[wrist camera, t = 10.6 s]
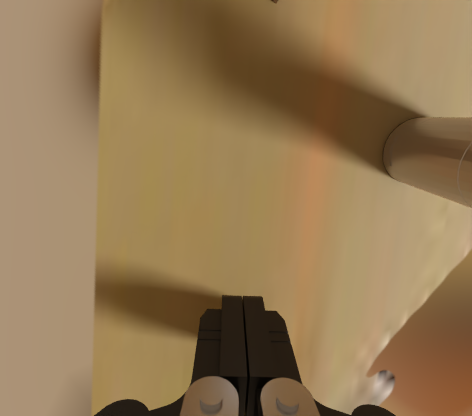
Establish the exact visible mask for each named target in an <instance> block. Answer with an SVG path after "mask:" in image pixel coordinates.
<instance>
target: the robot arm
mask: <svg viewBox="0 0 472 416" xmlns="http://www.w3.org/2000/svg"><path fill="white" fill-rule="evenodd" d="M383 161H384V165H385V168H386V170H387V172H388V173H389V174H390V175H391V176H392V177H393V178H394V179H396V180H398V181H400V182H403V183H405V184H408V185H411V186H414V187H416V188H419V189H421V190H424V191H427V192H429V193H432V194H435V195H438V196H440V197H443V198H446V199H449V200H451V201H454V202H457V203H459V204H462V205H465V206H468V207H470V208H472V118H442V117H433V118H414V119H411V120H408V121H406V122H404V123H402V124H401V125H399V126H398V127H397V128H396V129H395V130H394V131H393V132H392V133H391V135H390V136H389V138H388V139H387V141H386V144H385V147H384V151H383ZM94 416H395V415H394V414H393V413H391V412H389V411H388V410H386V409H384V408H381V407H379V406H375V405H369V404H368V405H361V406H359V407H357V408H356V409H354V411H353V412H352V414H351V415H349V414H346V413H343V412H340V411H337V410H334V409H331V408H328V407H326V406H324V405H322V404H320V403H319V402H317V401H316V400H315V399H313V397H312V395H311V393H310V392H309V391H308V389H307V388H306V387H305V386H303V384H302V381H301V378H300V374H299V371H298V367H297V364H296V360H295V356H294V353H293V349H292V345H291V344H290V338H289V335H288V331H287V327H286V324H285V320H284V319H283V318H282V317H281V316H280V315H279V313H278V312H277V311H265V308H264V302H263V298H262V296H243V298H242V296H227V295H222V309H207V310H206V312H205V313H204V314H203V316H202V317H201V318H200V325H199V332H198V339H197V346H196V353H195V360H194V367H193V374H192V380H191V384H190V386H189V388H188V390H187V391H186V392H185V394H184V395H183V396H182V397H181V398H179V399H178V400H177V401H175V402H173V403H171V404H169V405H167V406H164V407H160V408H157V409H154V410H151V411H149V410H148V408H147V407H146V406H145V405H144V404H143V403H141V402H139V401H137V400H133V399H125V400H120V401H116V402H114V403H112V404H110V405H108V406H106V407H105V408H103V409H102V410H101V411H99V412H98V413H97V414H96V415H94Z"/></svg>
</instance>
